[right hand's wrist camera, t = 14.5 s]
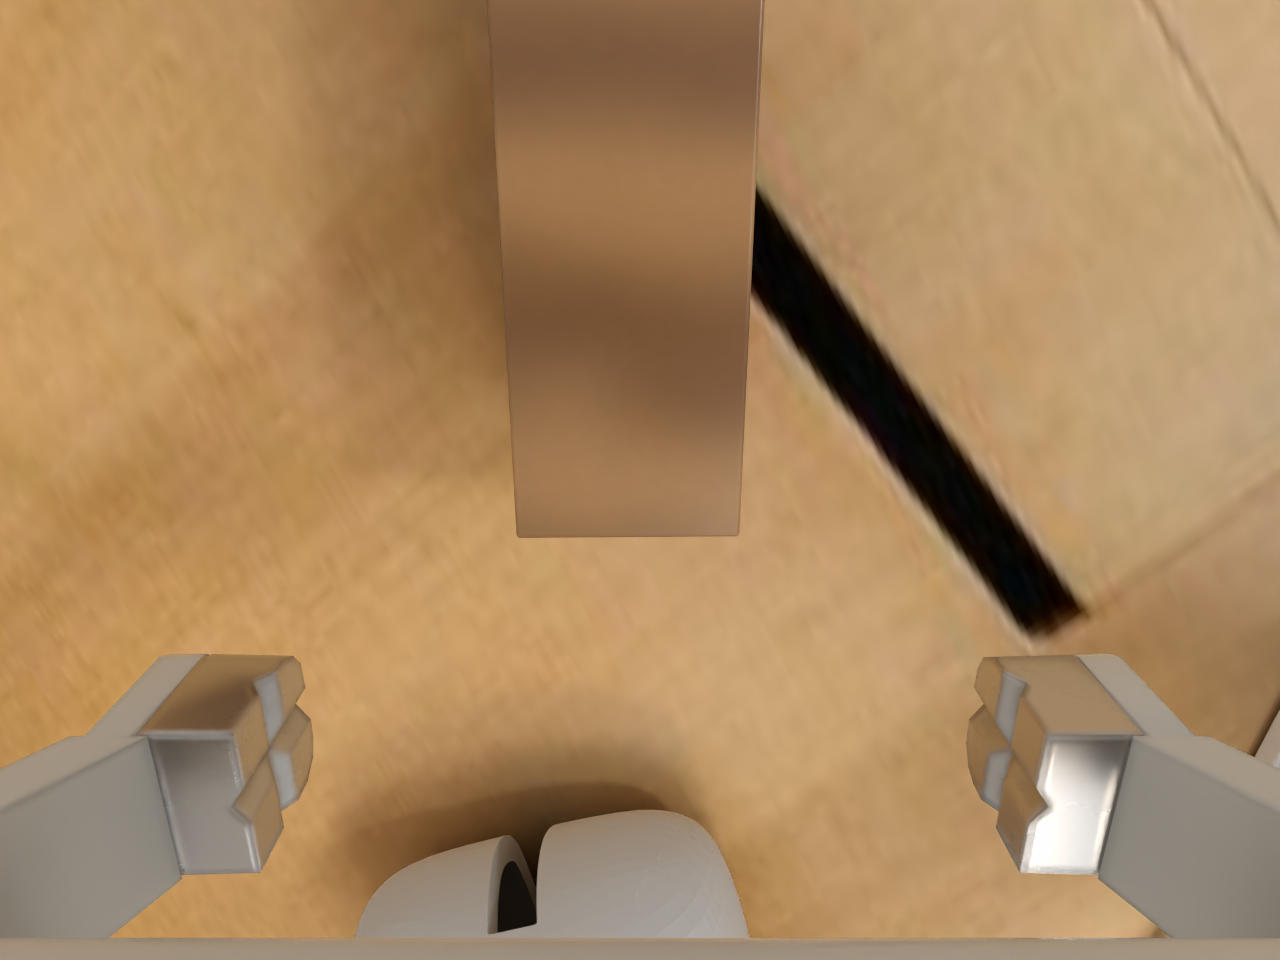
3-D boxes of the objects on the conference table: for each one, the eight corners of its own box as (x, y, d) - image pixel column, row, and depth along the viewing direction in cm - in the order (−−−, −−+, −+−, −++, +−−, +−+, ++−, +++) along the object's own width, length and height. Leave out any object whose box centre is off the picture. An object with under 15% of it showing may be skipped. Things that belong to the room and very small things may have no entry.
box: (706, 425, 33) (739, 537, 24) (545, 426, 33) (516, 539, 24) (728, -285, 25) (790, -525, 16) (516, -287, 25) (456, -530, 16)
